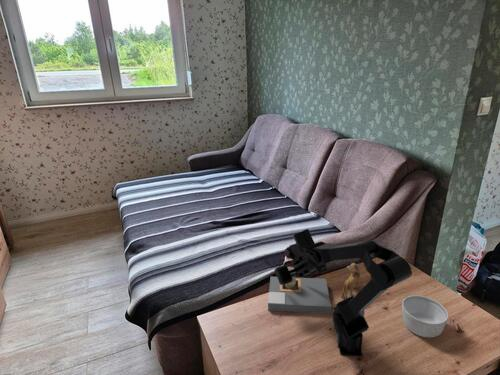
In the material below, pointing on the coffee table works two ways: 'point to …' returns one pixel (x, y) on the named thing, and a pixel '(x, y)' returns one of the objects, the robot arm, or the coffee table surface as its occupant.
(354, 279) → the lion figurine
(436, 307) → the ramekin
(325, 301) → the gray peg hole board
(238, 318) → the coffee table surface
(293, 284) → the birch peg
